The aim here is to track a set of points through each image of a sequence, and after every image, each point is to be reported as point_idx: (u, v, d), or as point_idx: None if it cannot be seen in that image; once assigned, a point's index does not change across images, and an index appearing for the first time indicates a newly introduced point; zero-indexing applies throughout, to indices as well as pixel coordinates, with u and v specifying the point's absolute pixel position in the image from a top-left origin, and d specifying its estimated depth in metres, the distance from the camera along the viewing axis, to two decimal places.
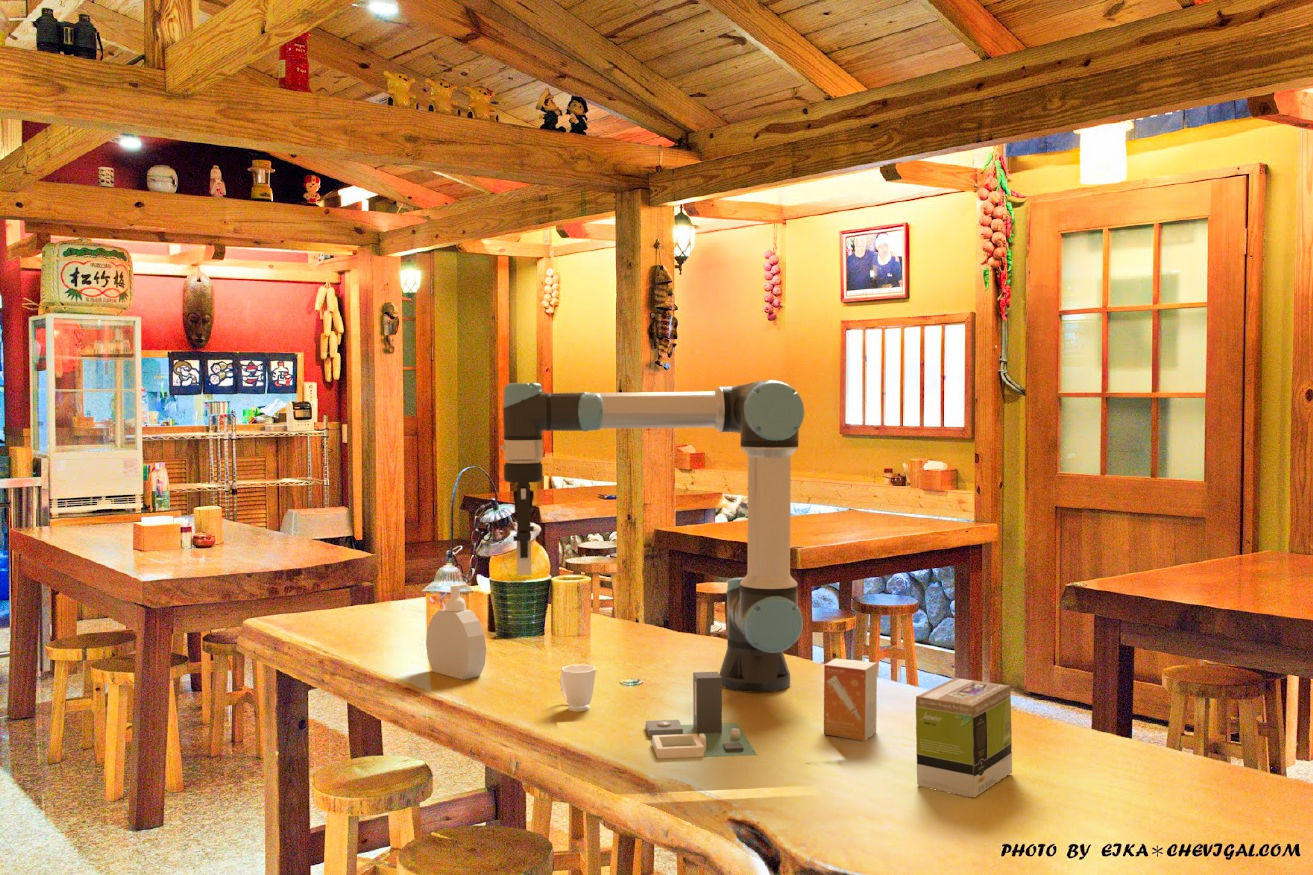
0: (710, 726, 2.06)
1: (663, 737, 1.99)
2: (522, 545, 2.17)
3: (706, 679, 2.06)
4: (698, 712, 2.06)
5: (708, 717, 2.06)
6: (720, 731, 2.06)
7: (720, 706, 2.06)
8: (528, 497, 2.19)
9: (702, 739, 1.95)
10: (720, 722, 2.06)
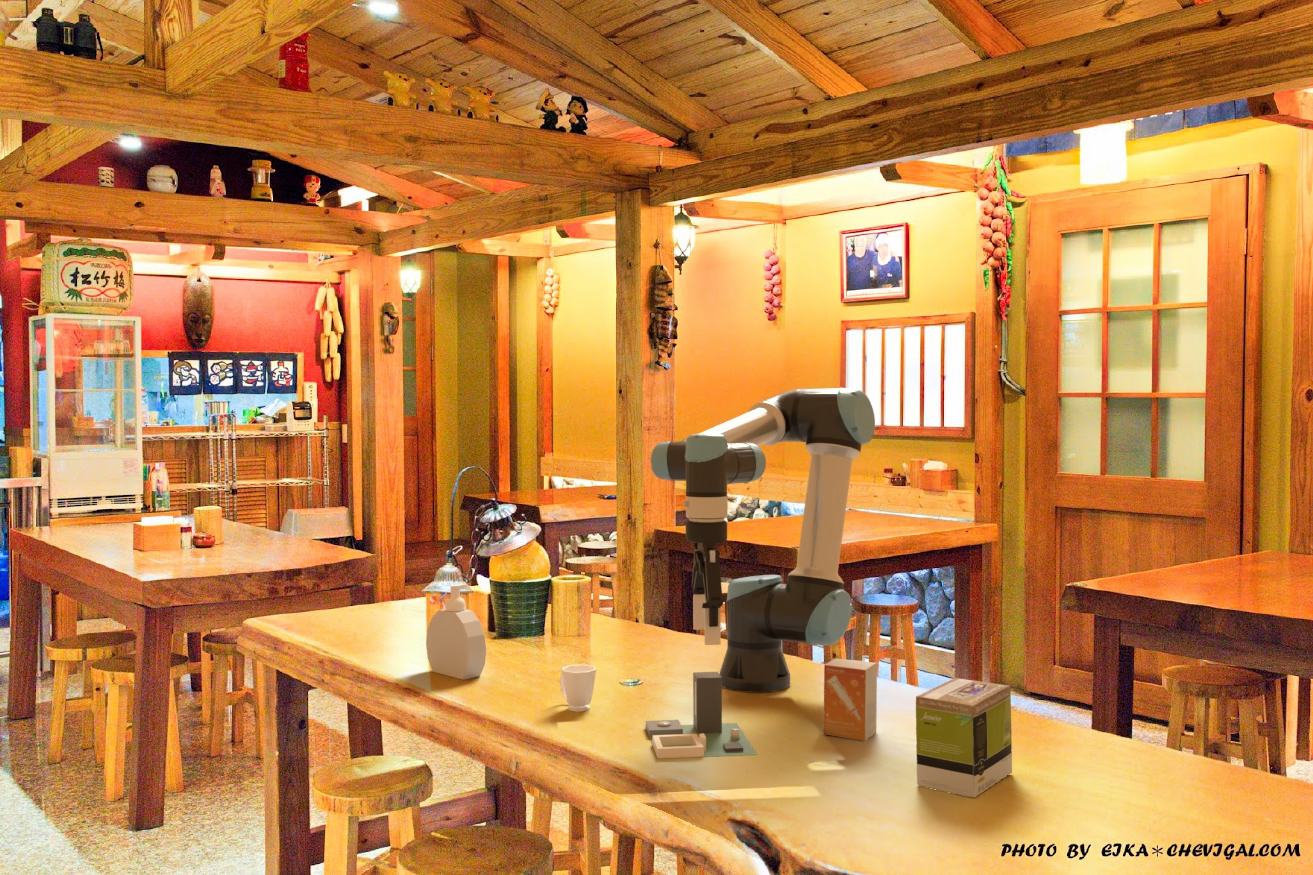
0: (710, 726, 2.06)
1: (663, 737, 1.99)
2: (712, 613, 1.99)
3: (706, 679, 2.06)
4: (698, 712, 2.06)
5: (708, 717, 2.06)
6: (720, 731, 2.06)
7: (720, 706, 2.06)
8: (718, 560, 2.00)
9: (702, 739, 1.95)
10: (720, 722, 2.06)
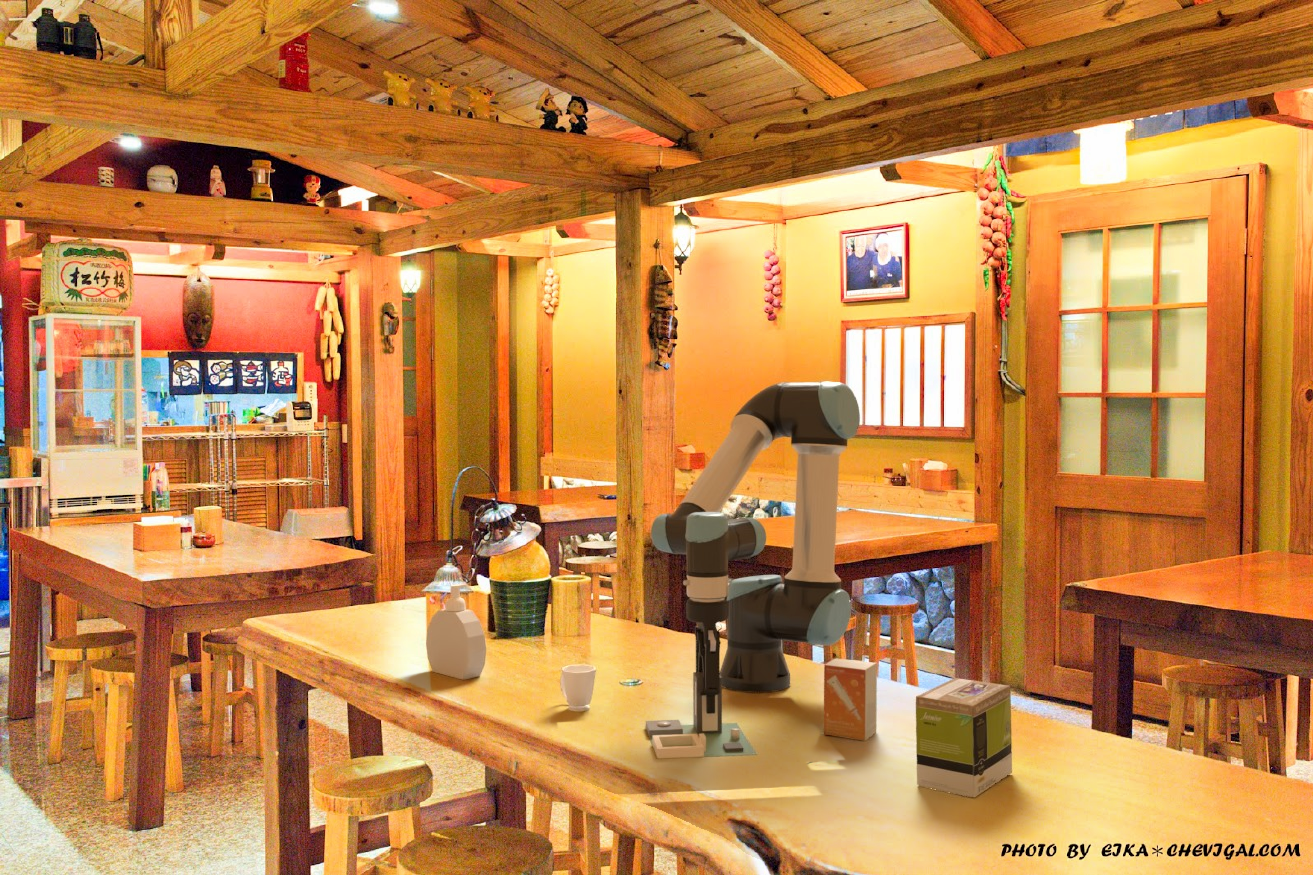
0: None
1: (663, 737, 1.99)
2: (709, 700, 2.04)
3: None
4: (698, 712, 2.06)
5: None
6: (720, 731, 2.06)
7: (720, 706, 2.06)
8: (718, 650, 2.02)
9: (702, 739, 1.95)
10: (720, 722, 2.06)
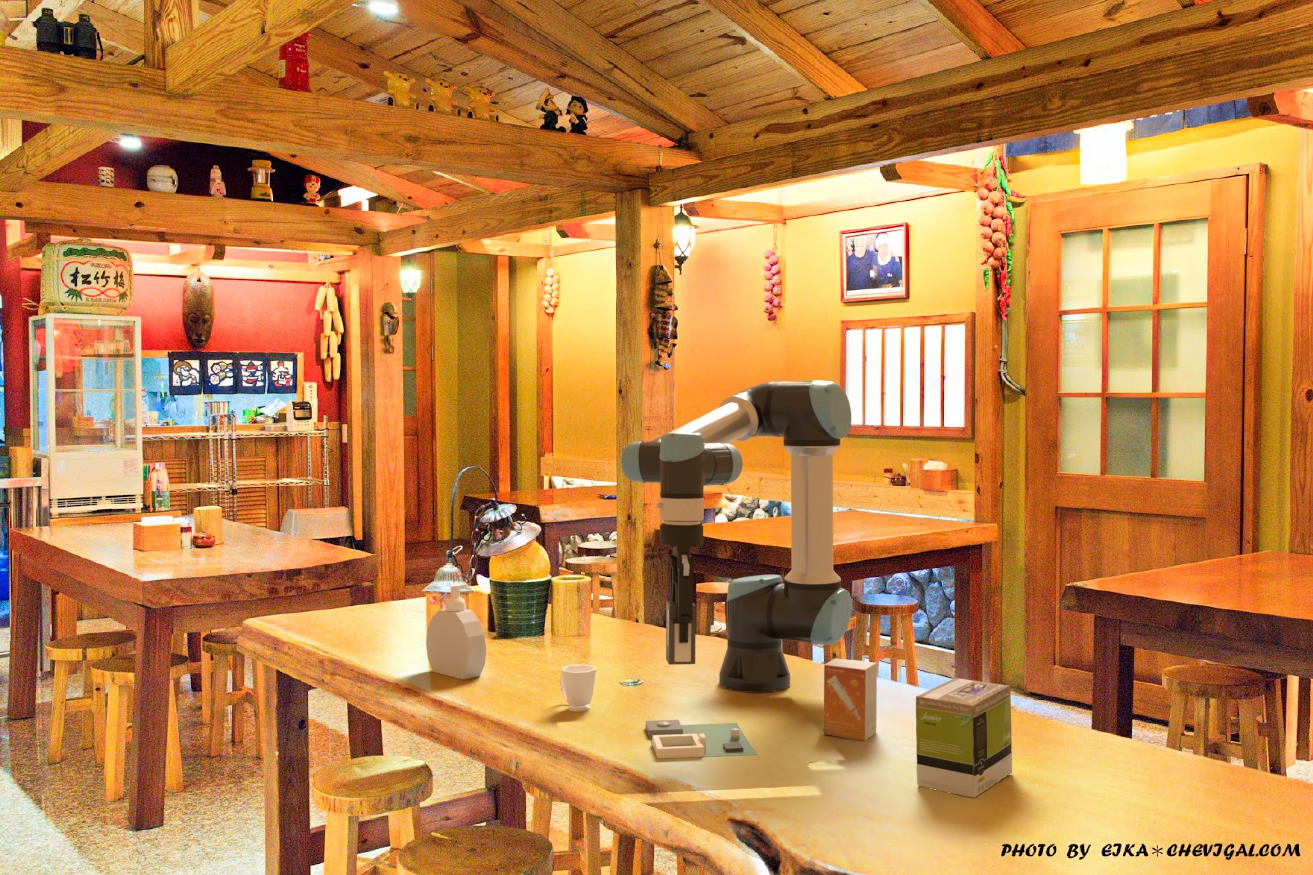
0: None
1: (663, 737, 1.99)
2: (682, 628, 1.93)
3: None
4: (670, 642, 1.95)
5: None
6: (693, 662, 1.95)
7: (694, 636, 1.95)
8: (691, 574, 1.91)
9: (702, 739, 1.95)
10: (693, 653, 1.95)
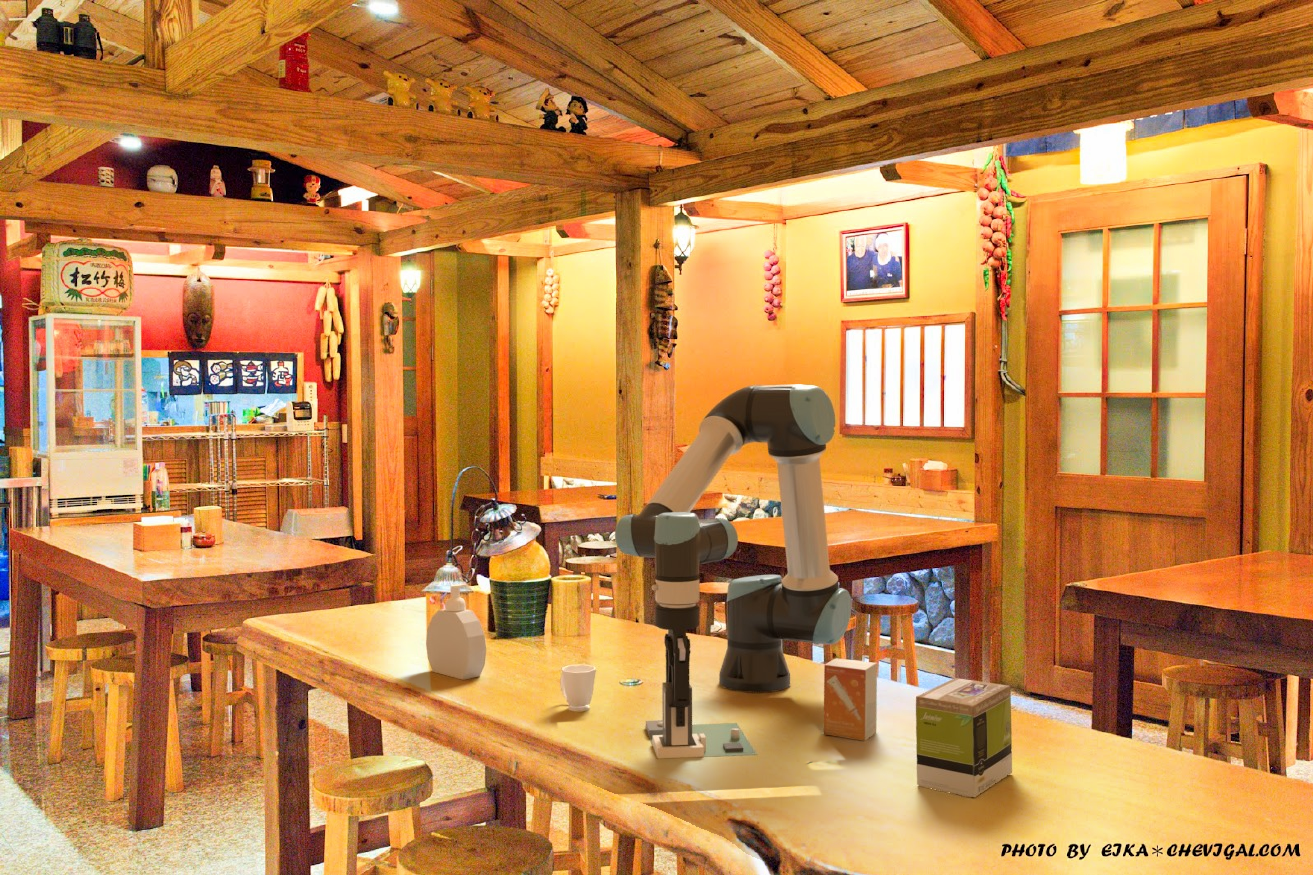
0: None
1: None
2: (679, 712, 1.92)
3: None
4: (667, 725, 1.93)
5: None
6: (690, 745, 1.94)
7: (690, 719, 1.94)
8: (688, 659, 1.89)
9: (702, 739, 1.95)
10: (690, 736, 1.94)
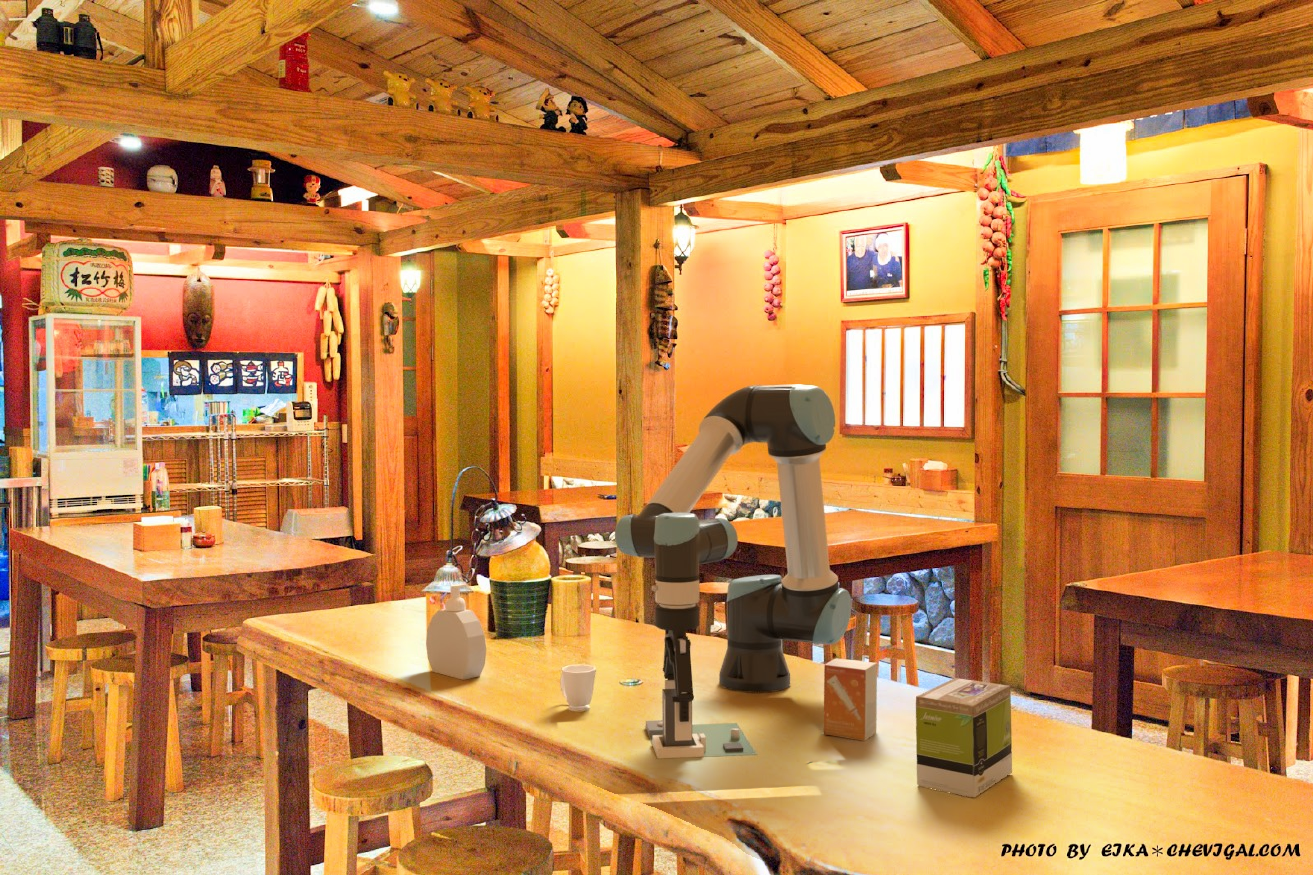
0: None
1: None
2: (682, 707, 1.87)
3: None
4: (667, 732, 1.93)
5: None
6: None
7: None
8: (688, 650, 1.89)
9: (702, 739, 1.95)
10: (690, 742, 1.94)
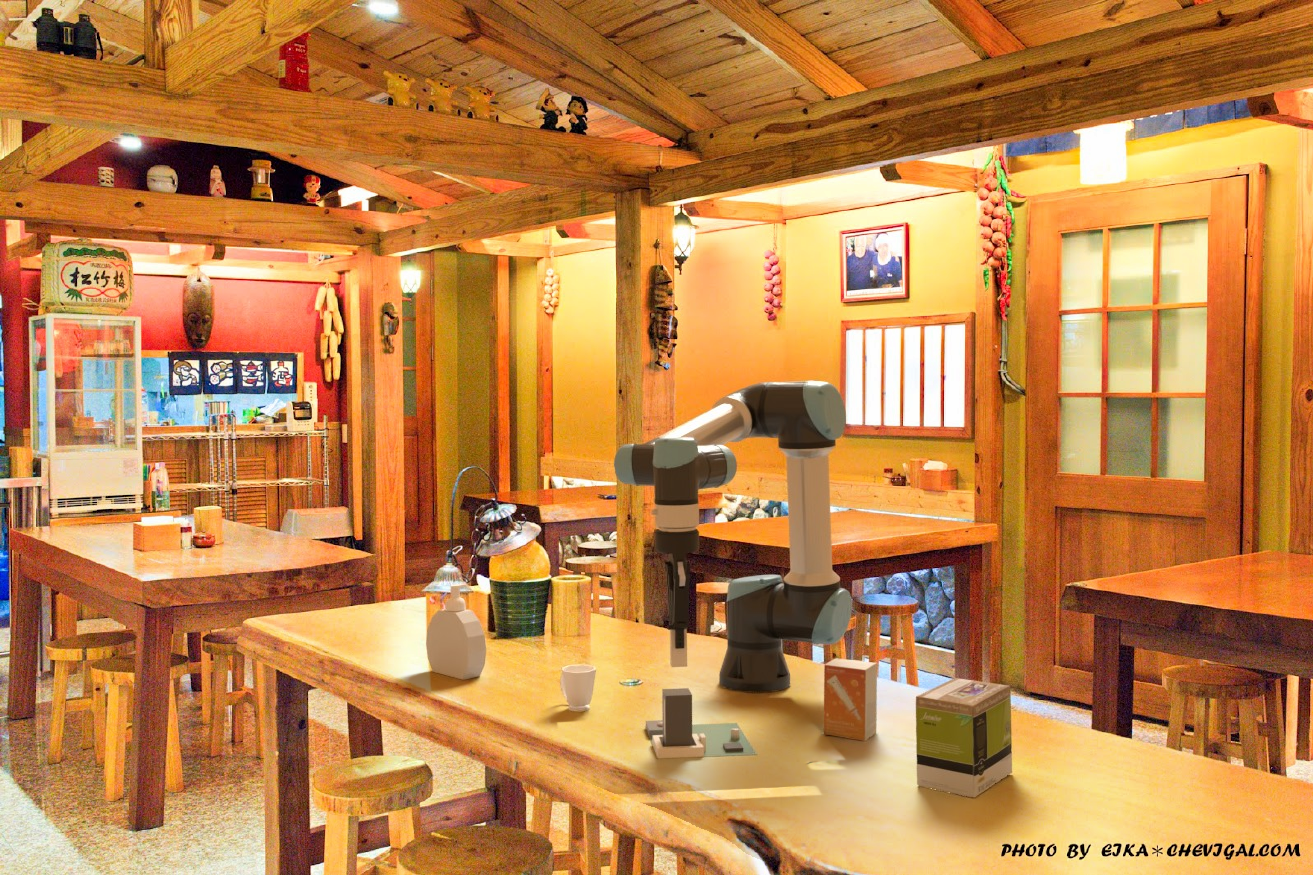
0: None
1: None
2: (678, 634, 1.94)
3: (675, 697, 1.93)
4: (667, 732, 1.93)
5: (677, 737, 1.94)
6: None
7: (690, 725, 1.94)
8: (687, 585, 1.90)
9: (702, 739, 1.95)
10: (690, 742, 1.94)
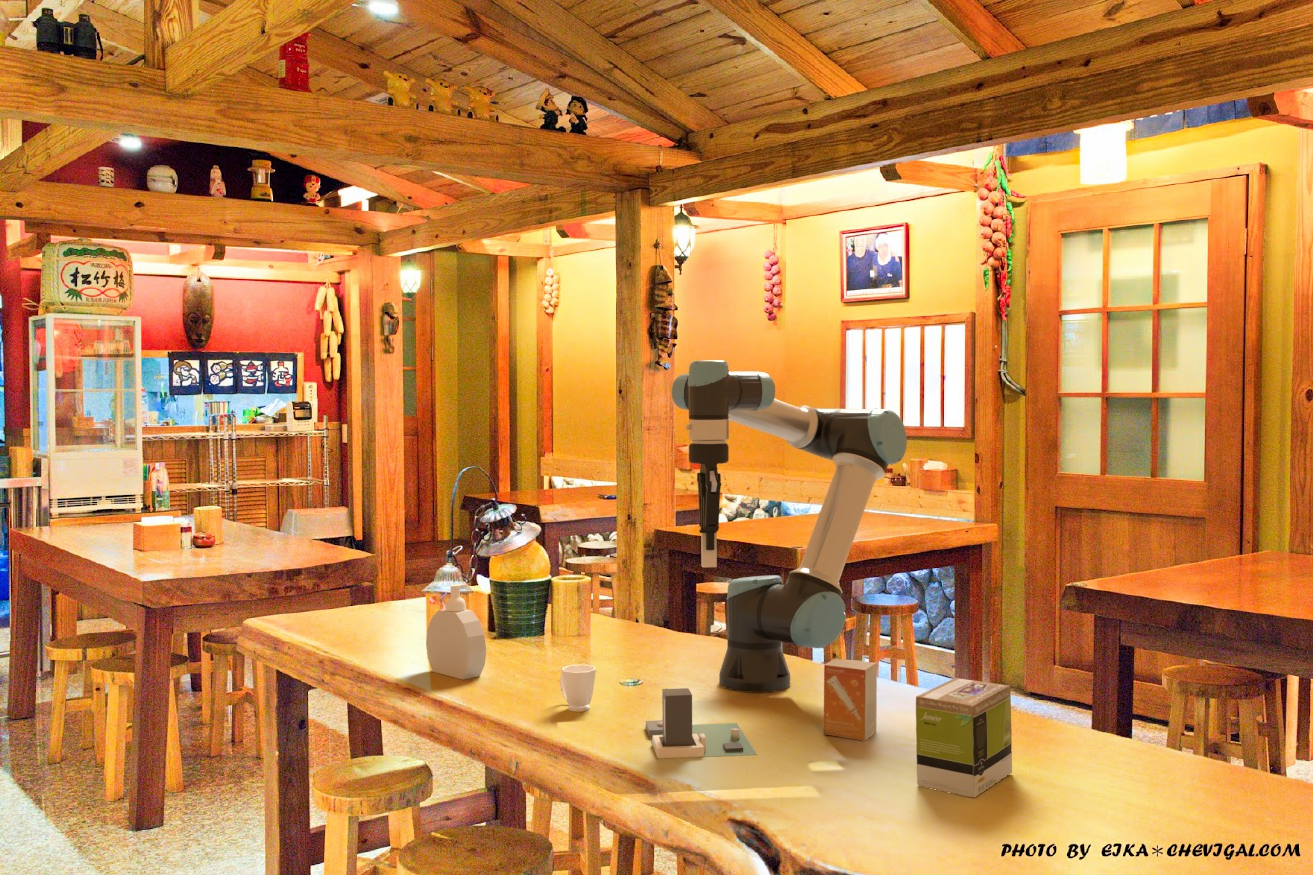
0: None
1: None
2: (709, 537, 2.15)
3: (675, 697, 1.93)
4: (667, 732, 1.93)
5: (677, 737, 1.94)
6: None
7: (690, 725, 1.94)
8: (718, 491, 2.12)
9: (702, 739, 1.95)
10: (690, 742, 1.94)
